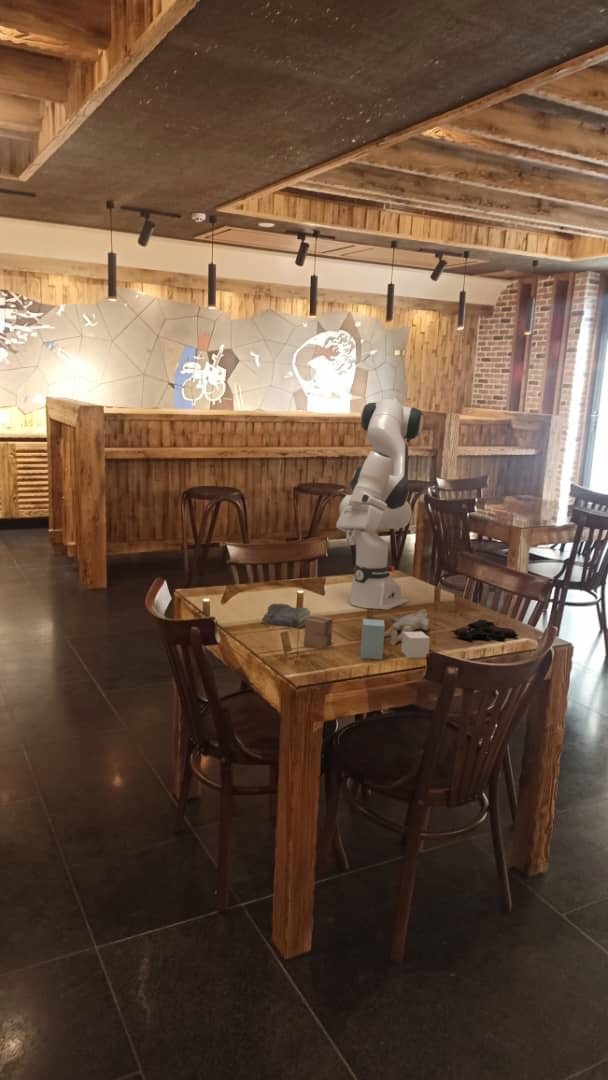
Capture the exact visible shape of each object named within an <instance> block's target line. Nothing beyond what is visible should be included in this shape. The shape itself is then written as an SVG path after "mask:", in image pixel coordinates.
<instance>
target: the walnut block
mask: <svg viewBox="0 0 608 1080" xmlns="http://www.w3.org/2000/svg"><path fill="white" fill-rule="evenodd" d="M333 622H334V621H333V617H332V618H331V617H328V616H327V617H326V616H321V615H318V614H314V615H312V616H309V618H307V619H305V625H304V637H303V638H304V639H303V640H304V641H303V646H304V647H309V648H314V649H318V650H324V649H325V647H326V648H327V647H329V646H332V636H333V635H332V633H333Z"/></svg>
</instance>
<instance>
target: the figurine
mask: <svg viewBox="0 0 608 1080" xmlns="http://www.w3.org/2000/svg"><path fill="white" fill-rule="evenodd" d="M385 620H386V622H390V623H393V624H391V626H390V627H389V628H388V629H387V630H384V639H385V637H386V638H389V637H390V645H391V644H392V645H391V646H396V645H397V643H399V642H402V636H403V632H415V630H416V631H417V630H423V631H428V630H429V628H430V620H429V618H428V612H427V610H426V609H425V608H422V609H420V610H418V611H417V612H414V613H413V612H412V613H410V614H406V615H404V616H402V617H399V618H396V617H394V616H393V615H387V616H386V619H385ZM398 631H400V633H398ZM395 644H396V645H395Z"/></svg>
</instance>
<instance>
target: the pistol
mask: <svg viewBox="0 0 608 1080" xmlns="http://www.w3.org/2000/svg"><path fill="white" fill-rule="evenodd" d="M496 625H497V626H496ZM450 632H451V633H454V635H455V636H456V637H458V638H462V639H464V640H467V639H468V640H469V641H471V640H472V638H476V639H480V640H484V641H490V639H493V640H494V641H496V642H501V643H502V642H505V638H506V639H514V640H517V639H518V636H519V634H517V632H516V631H515V630H514V629H512V628H508V627H501V626H500V627H499V624H498V623H497V622H495V621H493V622H492V621H488V620H486V619H480V618H479V619H477V620H476V621H473V622H471V623H468V624H467V625H465V626H462V627H460V628H457V629H454V630H450Z"/></svg>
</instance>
